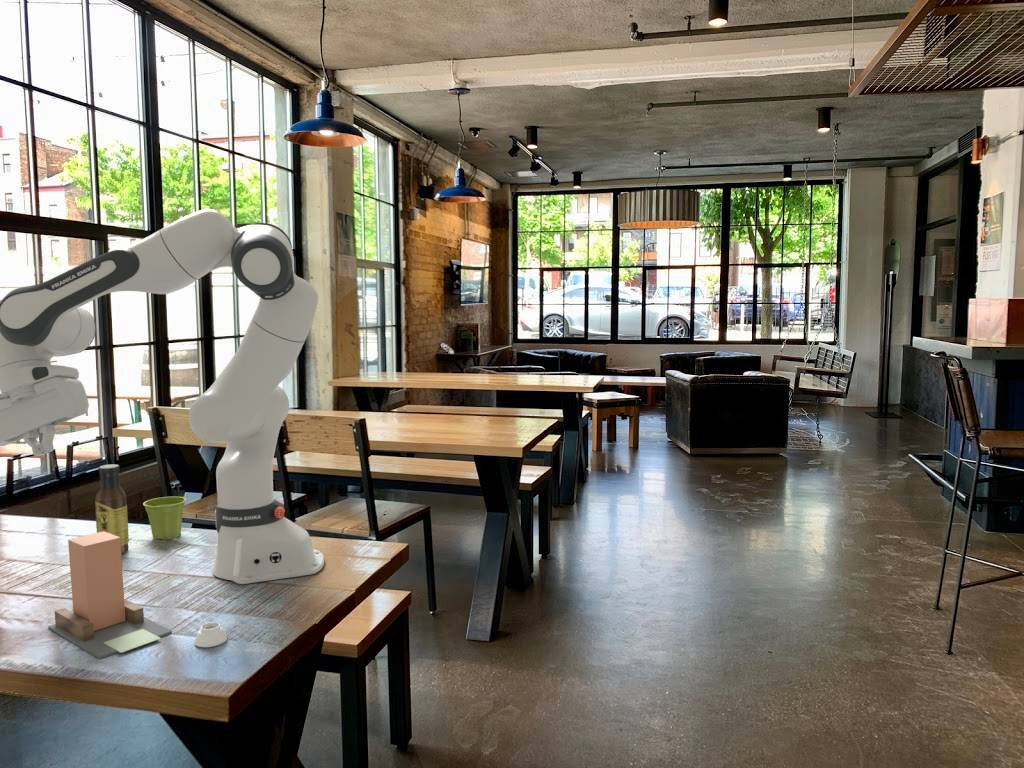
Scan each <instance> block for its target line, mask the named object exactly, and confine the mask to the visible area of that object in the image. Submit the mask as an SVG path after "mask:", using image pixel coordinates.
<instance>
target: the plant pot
mask: <svg viewBox="0 0 1024 768" xmlns="http://www.w3.org/2000/svg"><path fill="white" fill-rule="evenodd" d="M186 502H187V498H186V497H183V496H163V497H156V498H151V499H148V500H146V501H144V502H143V503H142V506H144V508H145V512H146V513H147V517H148V520H149V524H150V525H149V526H150V529H151V534H152V535H151V536H152V538H153V539H154V540H159V539H160V540H164V541H165V540H171V539H175V538H177V537H179V536H181V533H182V524H183V513H184V511H183V510H184V508H185V503H186Z"/></svg>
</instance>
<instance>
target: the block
mask: <svg viewBox="0 0 1024 768" xmlns="http://www.w3.org/2000/svg"><path fill="white" fill-rule="evenodd" d="M67 541H68V542H67V543H68V556H69V571H70V583H71V587H70V588H71V597H72V599H71V600H72V613H74V614H76V615H78V616H80V617H82V618H83V619H85V620H87V621H89V622H91V623H92V624H93V627H94V631H96V630H99V629H102V628H105V627H108V626H111V625H114V624H117V623H120V622H123V621H126V619H125V604H124V599H125V592H124V591H125V590H124V588H125V587H124V579H123V578H124V576H123V575H124V574H123V562H122V561H123V560H122V554H121V542H120V537H118V536H115V535H112V534H110V533H107V532H105V531H103V532H99V533H97V532H95V533H91V534H86V535H82V536H78V537H74V538H70V539H68V540H67Z"/></svg>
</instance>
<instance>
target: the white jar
mask: <svg viewBox="0 0 1024 768" xmlns="http://www.w3.org/2000/svg"><path fill="white" fill-rule="evenodd" d="M227 639H228V634H227V633H226V630H224V627H222V626H221V624H220V622H217V621H211V622H210V621H209V622H205V623H203V624H201V626H200V629H199V630H198V631H197V634H196V635H195V639H194V645H195V646H196V647H199V648H207V649H208V648H213V647H217V646H220V645H222V644H224V643H225V642H226V641H227Z"/></svg>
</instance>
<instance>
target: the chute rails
mask: <svg viewBox="0 0 1024 768" xmlns="http://www.w3.org/2000/svg"><path fill="white" fill-rule="evenodd" d="M124 604H125V619H126V620H127V621H129V622H131V623H133V624H135V625H136V624H139V623H142V622H144V617H145V616H144V615H145V614H144V608H143V606H140V605H138V604H136V603H134V602H132V601H130V600H128V599H126V598H124ZM54 620H55V621H54V622H55V623H54V624H56V625H57V626H58V627H60V628H62V629H64V630H65V631H67V632H69V633H70V634H72V635H74V636H75V637H77V638H79V639H80V640H82V641H84V642H85V641H88V640H91V639H94V627H93V624H92V623H91V622H89V621H87V620H85V619H83V618H82V617H80V616H78V615H76V614H74V613H73V611H70V610H69V609H67V608H65V607H63V608H60V609H57V610H54Z"/></svg>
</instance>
